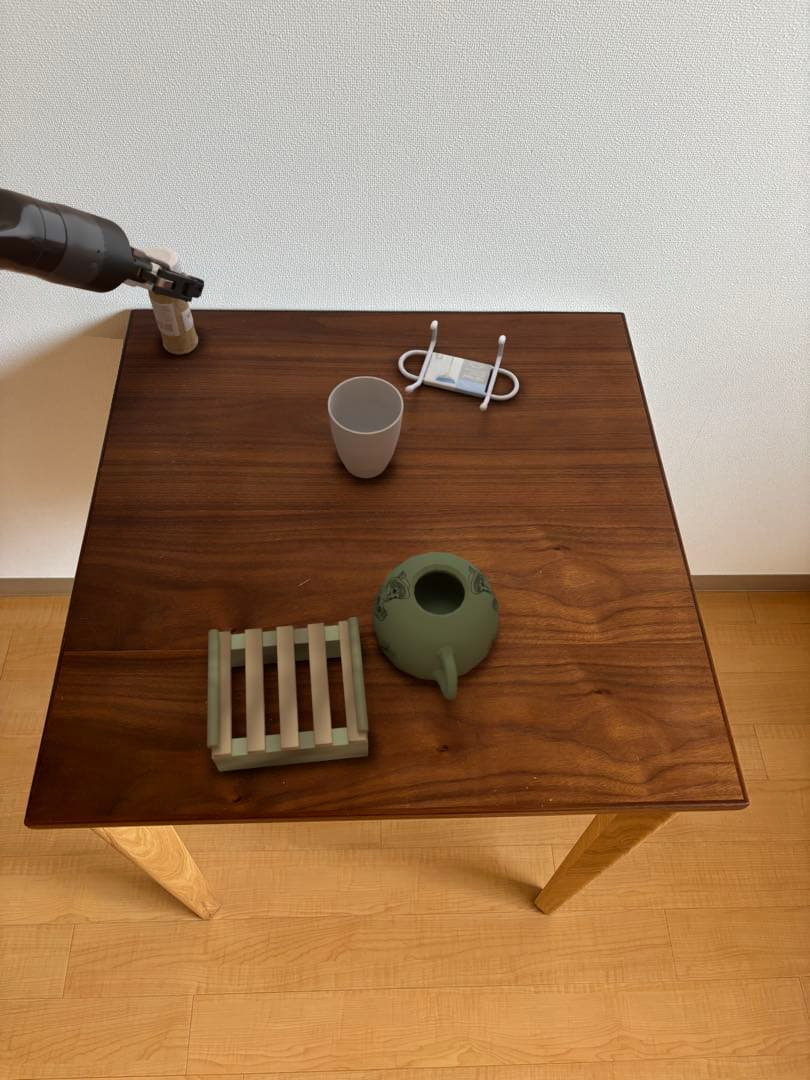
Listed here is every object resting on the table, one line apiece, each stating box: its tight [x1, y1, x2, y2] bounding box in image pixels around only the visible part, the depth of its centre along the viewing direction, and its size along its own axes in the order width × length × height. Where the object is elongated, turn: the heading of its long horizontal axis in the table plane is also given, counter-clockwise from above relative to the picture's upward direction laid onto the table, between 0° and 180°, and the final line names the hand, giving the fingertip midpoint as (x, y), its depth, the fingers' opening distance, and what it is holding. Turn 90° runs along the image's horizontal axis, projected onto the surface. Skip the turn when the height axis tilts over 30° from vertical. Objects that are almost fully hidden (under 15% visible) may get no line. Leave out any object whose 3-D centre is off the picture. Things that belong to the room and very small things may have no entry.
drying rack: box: [206, 616, 369, 772], centre depth 77 cm, size 14×12×6 cm
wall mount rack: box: [397, 320, 520, 412], centre depth 100 cm, size 16×14×6 cm
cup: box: [327, 375, 404, 479], centre depth 92 cm, size 8×8×10 cm
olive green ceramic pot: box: [371, 551, 499, 701], centre depth 80 cm, size 16×13×9 cm
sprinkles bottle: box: [143, 245, 199, 355], centre depth 99 cm, size 5×5×13 cm
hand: (171, 274), depth 97 cm, fingers open, 8 cm apart
